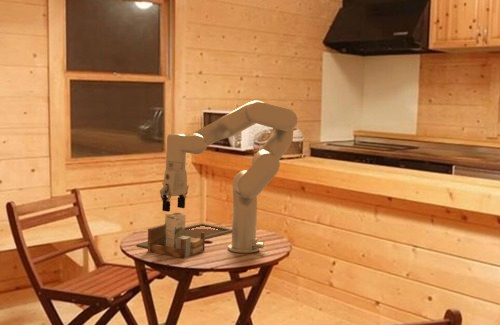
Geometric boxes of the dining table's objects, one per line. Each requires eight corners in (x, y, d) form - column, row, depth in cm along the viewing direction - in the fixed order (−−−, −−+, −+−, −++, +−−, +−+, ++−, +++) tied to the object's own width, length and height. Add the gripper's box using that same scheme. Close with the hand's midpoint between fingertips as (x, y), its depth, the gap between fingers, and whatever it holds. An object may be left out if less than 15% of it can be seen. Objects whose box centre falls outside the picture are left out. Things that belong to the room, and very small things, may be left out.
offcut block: (190, 254, 222) (190, 236, 221) (185, 257, 218) (186, 239, 218) (181, 253, 223) (181, 235, 223) (176, 255, 220) (176, 237, 219)
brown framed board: (160, 232, 253) (206, 222, 276) (160, 236, 253) (206, 225, 277) (193, 239, 241) (237, 228, 265) (192, 243, 241) (237, 232, 265)
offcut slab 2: (202, 251, 228) (202, 245, 228) (193, 255, 222) (193, 249, 222) (192, 250, 230) (192, 243, 230) (182, 253, 225) (182, 247, 224)
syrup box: (174, 247, 232) (175, 211, 230) (185, 250, 228) (185, 214, 226) (163, 250, 227) (164, 213, 226) (174, 253, 224) (174, 216, 222)
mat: (161, 245, 235) (161, 243, 235) (150, 248, 229) (150, 247, 229) (147, 242, 238) (147, 241, 238) (136, 246, 232) (136, 244, 232)
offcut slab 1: (202, 245, 228) (202, 239, 228) (194, 248, 222) (194, 242, 222) (191, 243, 230) (191, 237, 230) (183, 247, 224) (183, 240, 224)
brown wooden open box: (205, 249, 230) (206, 227, 229) (182, 258, 216) (183, 234, 215) (171, 243, 238) (172, 222, 237) (147, 251, 224) (148, 228, 223)
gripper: (170, 168, 215) (168, 214, 217) (196, 165, 230) (194, 207, 232) (153, 166, 218) (152, 211, 220) (180, 163, 233) (178, 205, 235)
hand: (173, 209), depth 226 cm, fingers open, 9 cm apart
